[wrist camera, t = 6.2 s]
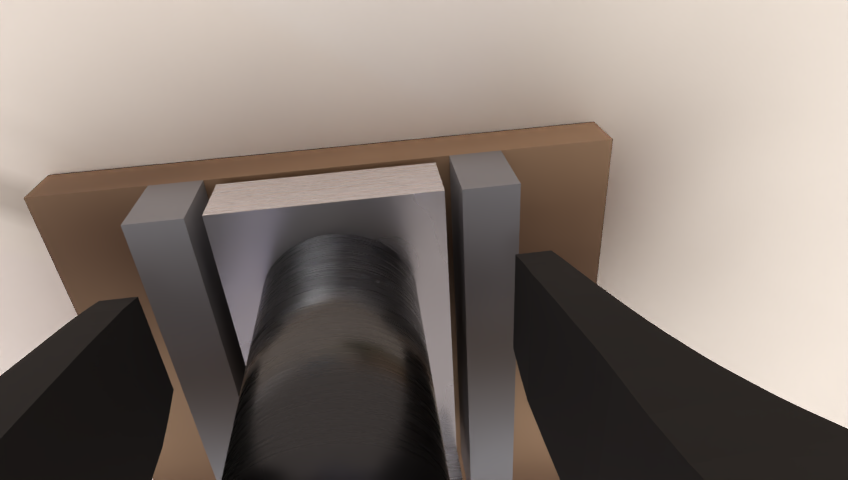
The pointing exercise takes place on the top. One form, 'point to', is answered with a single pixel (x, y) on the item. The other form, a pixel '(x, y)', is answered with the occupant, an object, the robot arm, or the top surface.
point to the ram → (339, 325)
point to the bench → (195, 181)
